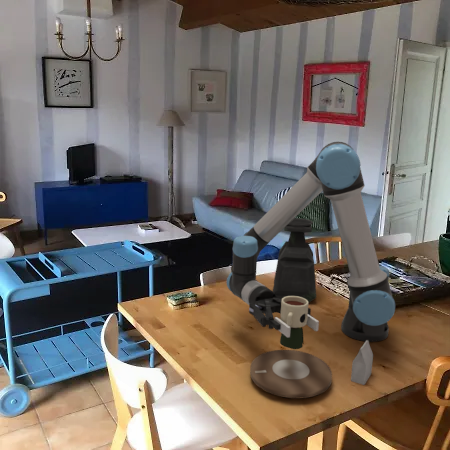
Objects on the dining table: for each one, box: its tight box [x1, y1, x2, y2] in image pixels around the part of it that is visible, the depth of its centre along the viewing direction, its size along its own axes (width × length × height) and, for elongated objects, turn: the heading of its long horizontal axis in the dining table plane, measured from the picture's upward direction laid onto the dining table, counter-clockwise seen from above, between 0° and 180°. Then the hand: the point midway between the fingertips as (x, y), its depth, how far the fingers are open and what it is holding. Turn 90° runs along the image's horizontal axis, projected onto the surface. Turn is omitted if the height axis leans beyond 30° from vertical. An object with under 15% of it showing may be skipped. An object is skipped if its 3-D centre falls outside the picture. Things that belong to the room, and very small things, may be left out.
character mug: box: [279, 296, 310, 350], centre depth 130 cm, size 11×7×13 cm, turn 158°
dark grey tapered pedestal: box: [272, 217, 317, 303], centre depth 189 cm, size 18×16×30 cm
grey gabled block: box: [350, 340, 374, 386], centre depth 135 cm, size 4×7×10 cm, turn 148°
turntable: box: [249, 349, 333, 399], centre depth 133 cm, size 22×22×2 cm
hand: (303, 329), depth 125 cm, fingers closed on character mug, 8 cm apart
